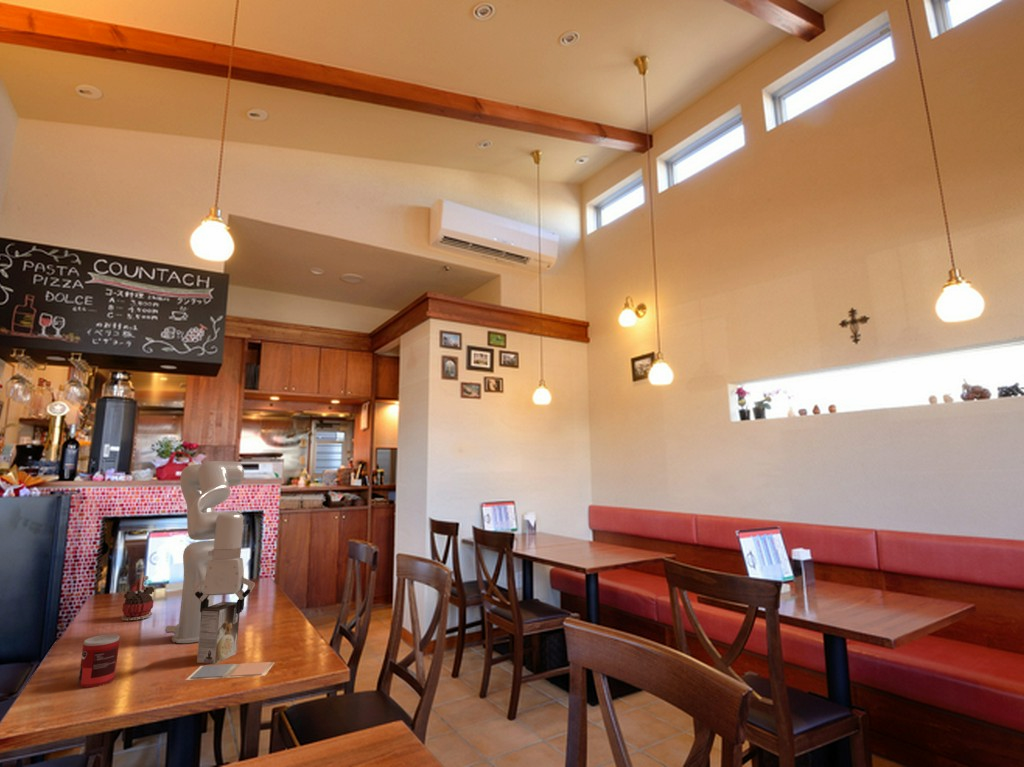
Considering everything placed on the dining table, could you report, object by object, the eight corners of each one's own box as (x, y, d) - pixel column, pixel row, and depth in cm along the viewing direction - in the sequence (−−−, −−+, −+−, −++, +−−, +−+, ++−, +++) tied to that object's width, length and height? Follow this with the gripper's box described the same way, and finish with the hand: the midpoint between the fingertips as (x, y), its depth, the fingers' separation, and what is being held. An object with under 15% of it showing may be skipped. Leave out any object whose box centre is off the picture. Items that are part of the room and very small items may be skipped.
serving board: (184, 684, 138) (185, 679, 138) (200, 670, 148) (200, 666, 148) (264, 680, 142) (265, 675, 142) (274, 666, 151) (275, 662, 151)
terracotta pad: (230, 676, 141) (230, 675, 141) (241, 664, 149) (241, 663, 149) (261, 675, 142) (261, 673, 142) (270, 663, 151) (271, 661, 151)
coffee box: (218, 655, 160) (223, 600, 162) (236, 657, 158) (241, 602, 161) (195, 666, 151) (201, 608, 153) (214, 668, 149) (220, 609, 152)
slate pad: (190, 678, 139) (190, 677, 139) (203, 666, 148) (203, 665, 148) (222, 677, 140) (222, 675, 140) (233, 664, 149) (234, 663, 149)
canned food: (90, 676, 143) (96, 634, 145) (121, 676, 144) (126, 633, 145) (69, 688, 135) (76, 643, 137) (102, 687, 136) (108, 642, 138)
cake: (131, 623, 192) (137, 572, 195) (113, 621, 195) (119, 571, 198) (158, 616, 202) (164, 567, 205) (141, 613, 205) (147, 566, 207)
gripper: (191, 557, 154) (184, 618, 151) (253, 555, 157) (248, 615, 154) (201, 553, 162) (195, 612, 158) (260, 551, 165) (256, 609, 161)
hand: (221, 613), depth 156 cm, fingers open, 9 cm apart
